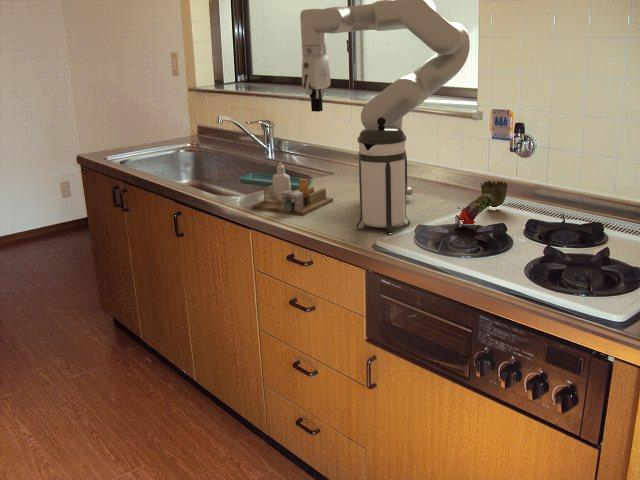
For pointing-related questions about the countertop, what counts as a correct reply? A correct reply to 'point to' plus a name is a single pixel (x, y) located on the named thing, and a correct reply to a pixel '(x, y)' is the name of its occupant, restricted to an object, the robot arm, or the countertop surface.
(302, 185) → the shaft
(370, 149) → the coffee press
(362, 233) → the countertop surface
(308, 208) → the rail board
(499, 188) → the green flared piece
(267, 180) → the shallow long dish
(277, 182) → the eye dropper bottle
